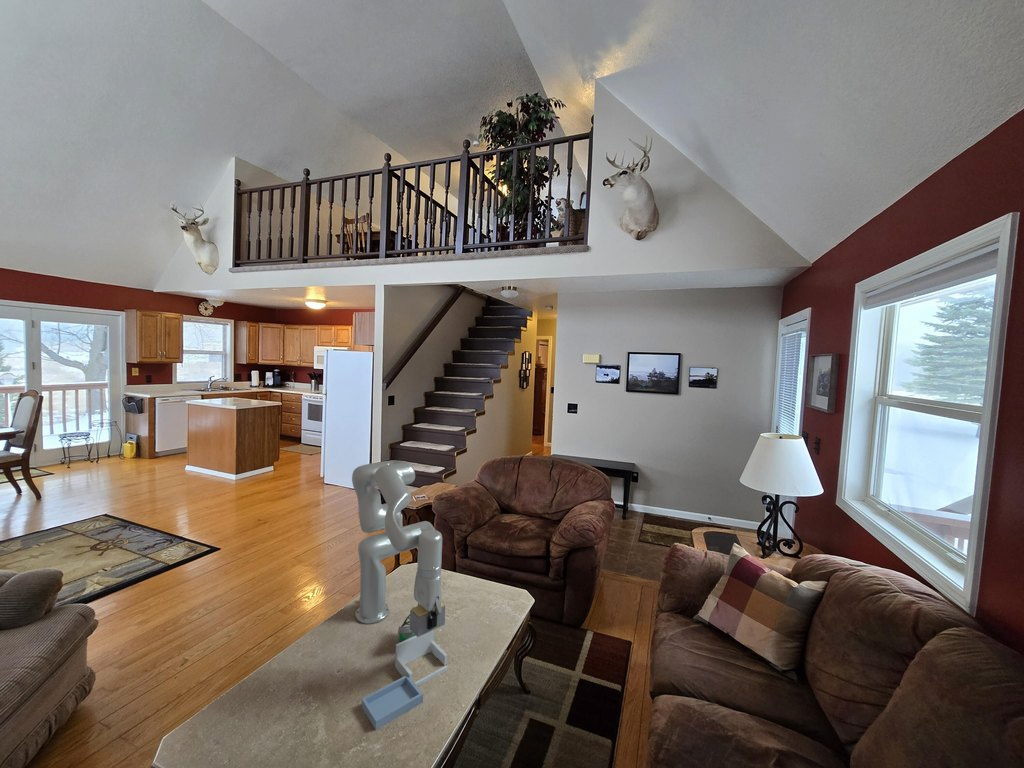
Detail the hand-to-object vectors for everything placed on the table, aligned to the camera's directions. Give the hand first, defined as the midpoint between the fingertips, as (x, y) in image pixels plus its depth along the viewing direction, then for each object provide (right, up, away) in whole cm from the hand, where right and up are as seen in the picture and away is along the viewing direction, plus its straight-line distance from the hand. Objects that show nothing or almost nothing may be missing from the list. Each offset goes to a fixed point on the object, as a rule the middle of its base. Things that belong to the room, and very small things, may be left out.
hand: (427, 622), depth 141 cm
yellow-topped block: (0, -1, 0) cm, 1 cm away
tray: (-8, -18, -12) cm, 23 cm away
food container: (-8, -16, +14) cm, 23 cm away
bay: (-2, -17, +3) cm, 17 cm away
